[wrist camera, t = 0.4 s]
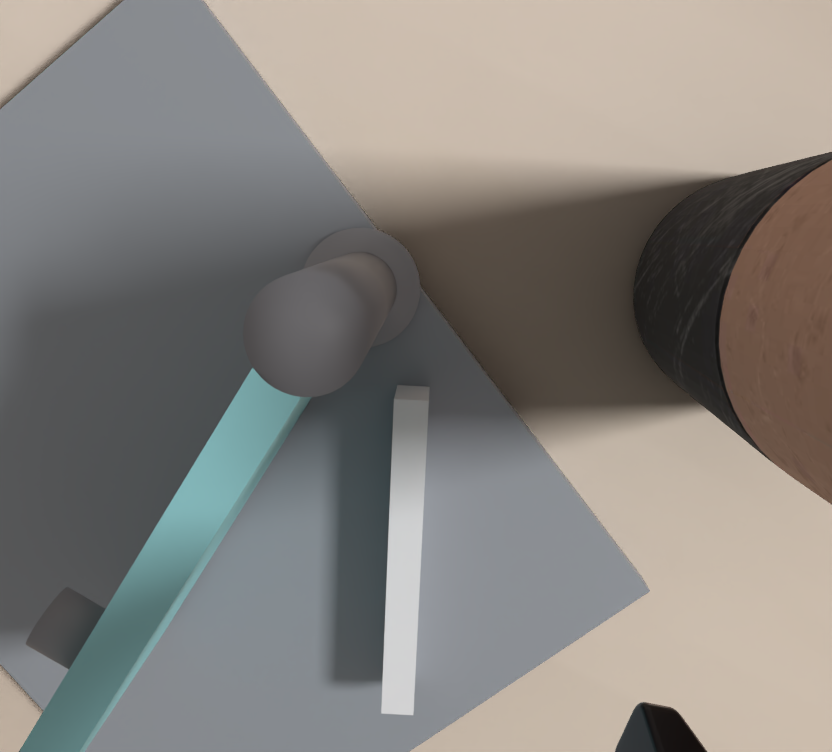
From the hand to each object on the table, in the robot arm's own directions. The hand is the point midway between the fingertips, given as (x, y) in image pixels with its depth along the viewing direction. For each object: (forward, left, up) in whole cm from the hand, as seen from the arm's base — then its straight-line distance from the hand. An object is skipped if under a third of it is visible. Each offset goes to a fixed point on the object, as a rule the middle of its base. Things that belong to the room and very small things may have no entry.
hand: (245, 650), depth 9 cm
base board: (-7, +1, -17) cm, 18 cm away
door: (-4, +1, -15) cm, 16 cm away
